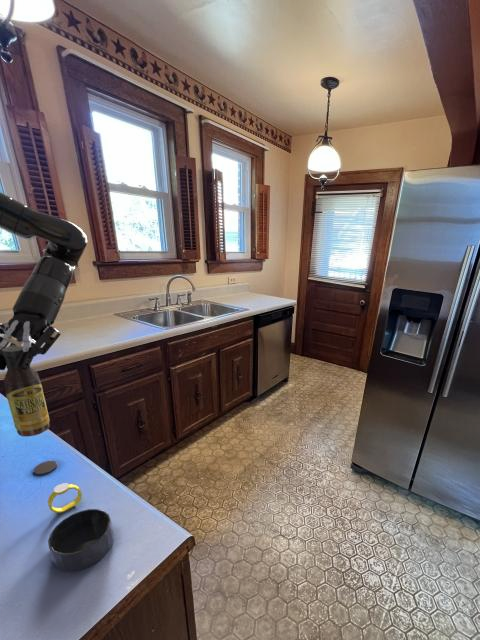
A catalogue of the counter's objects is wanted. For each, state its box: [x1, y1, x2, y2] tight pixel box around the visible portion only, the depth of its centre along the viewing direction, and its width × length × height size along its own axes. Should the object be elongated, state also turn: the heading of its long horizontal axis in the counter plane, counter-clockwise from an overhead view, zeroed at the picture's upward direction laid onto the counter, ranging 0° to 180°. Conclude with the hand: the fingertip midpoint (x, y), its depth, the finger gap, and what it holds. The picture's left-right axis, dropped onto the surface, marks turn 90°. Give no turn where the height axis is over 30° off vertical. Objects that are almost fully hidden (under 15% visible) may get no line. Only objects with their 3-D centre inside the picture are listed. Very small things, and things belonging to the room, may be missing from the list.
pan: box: [47, 508, 115, 573], centre depth 60 cm, size 10×10×4 cm
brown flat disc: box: [33, 460, 58, 476], centre depth 80 cm, size 5×5×1 cm
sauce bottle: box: [2, 345, 50, 438], centre depth 68 cm, size 7×6×20 cm
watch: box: [47, 482, 83, 514], centre depth 68 cm, size 6×3×6 cm, turn 138°
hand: (8, 369), depth 64 cm, fingers closed on sauce bottle, 4 cm apart
